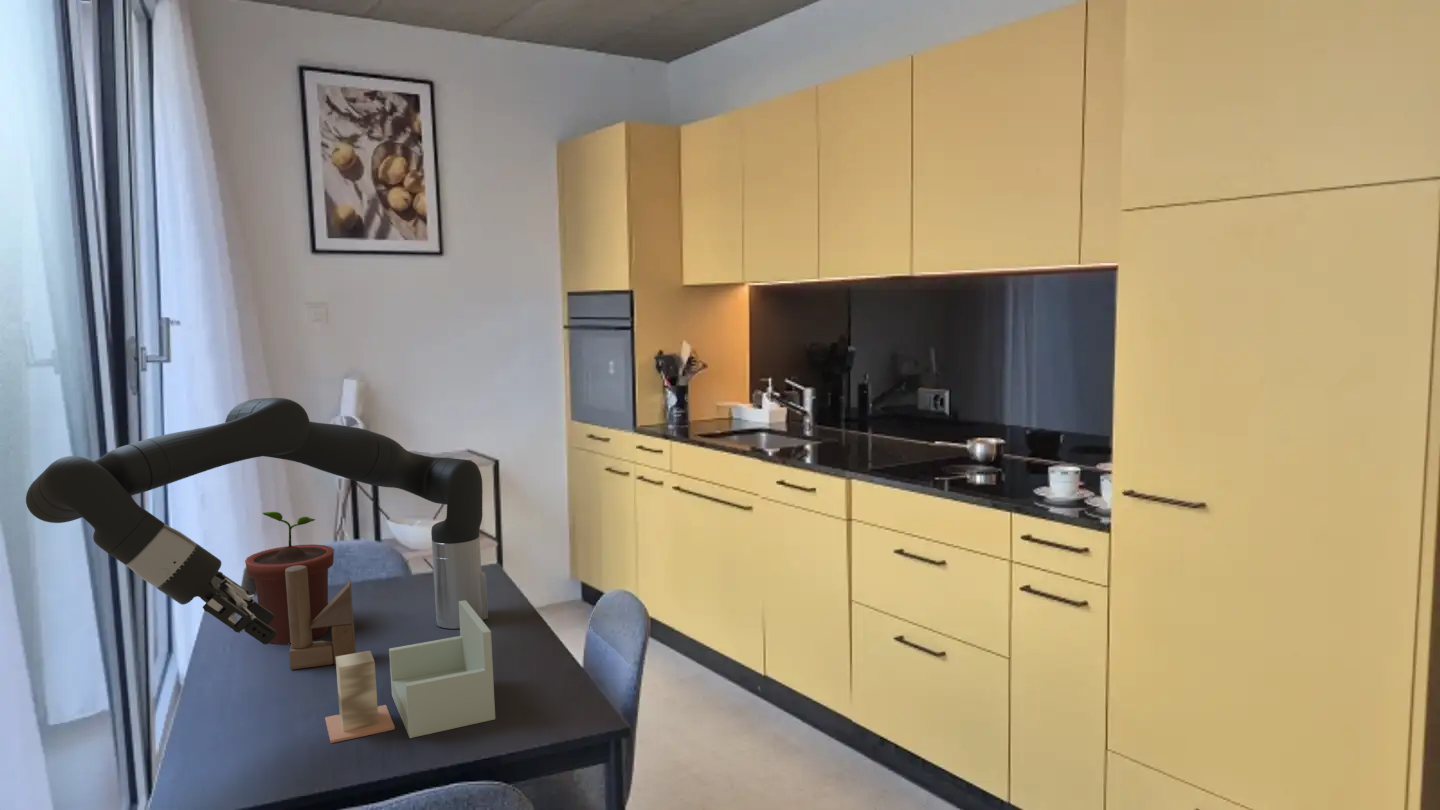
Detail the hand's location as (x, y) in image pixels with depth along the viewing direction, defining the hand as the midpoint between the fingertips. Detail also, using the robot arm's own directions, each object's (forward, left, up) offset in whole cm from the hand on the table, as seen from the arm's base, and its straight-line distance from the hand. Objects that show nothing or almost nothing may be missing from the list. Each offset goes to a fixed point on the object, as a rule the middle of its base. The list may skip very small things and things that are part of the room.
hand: (271, 630), depth 137 cm
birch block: (-11, +4, -17) cm, 20 cm away
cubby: (-22, +8, -17) cm, 29 cm away
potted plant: (-22, -48, -17) cm, 56 cm away
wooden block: (-18, -26, -17) cm, 36 cm away
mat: (-10, +4, -17) cm, 20 cm away
